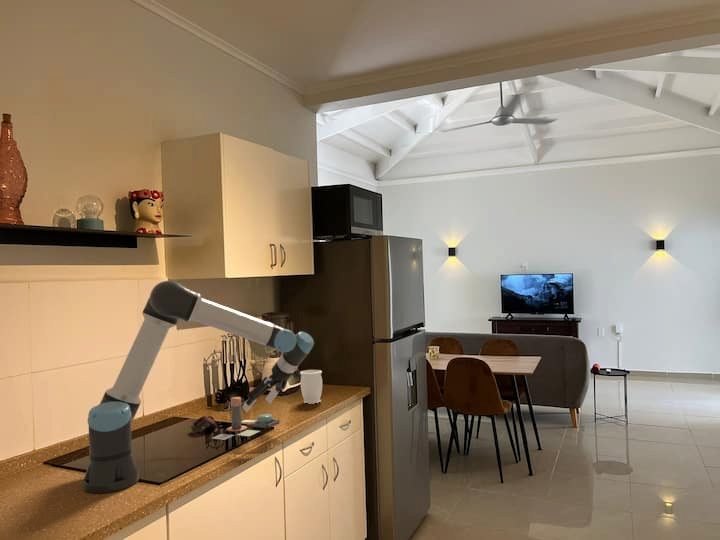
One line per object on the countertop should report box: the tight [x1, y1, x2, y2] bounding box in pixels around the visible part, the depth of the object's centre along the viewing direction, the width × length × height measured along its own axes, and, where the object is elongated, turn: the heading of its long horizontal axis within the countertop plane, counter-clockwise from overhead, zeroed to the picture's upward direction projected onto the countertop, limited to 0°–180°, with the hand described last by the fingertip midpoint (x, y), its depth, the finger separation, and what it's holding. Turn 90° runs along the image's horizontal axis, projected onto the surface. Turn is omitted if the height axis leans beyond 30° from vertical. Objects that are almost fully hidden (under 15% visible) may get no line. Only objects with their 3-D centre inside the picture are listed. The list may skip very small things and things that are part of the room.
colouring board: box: [211, 418, 280, 441], centre depth 209 cm, size 29×18×3 cm, turn 156°
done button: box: [256, 413, 274, 424], centre depth 216 cm, size 6×6×2 cm
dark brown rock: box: [190, 415, 219, 435], centre depth 211 cm, size 12×10×8 cm
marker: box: [230, 396, 243, 430], centre depth 212 cm, size 4×4×12 cm
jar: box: [299, 369, 323, 405], centre depth 258 cm, size 11×10×15 cm
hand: (256, 405), depth 207 cm, fingers open, 13 cm apart
